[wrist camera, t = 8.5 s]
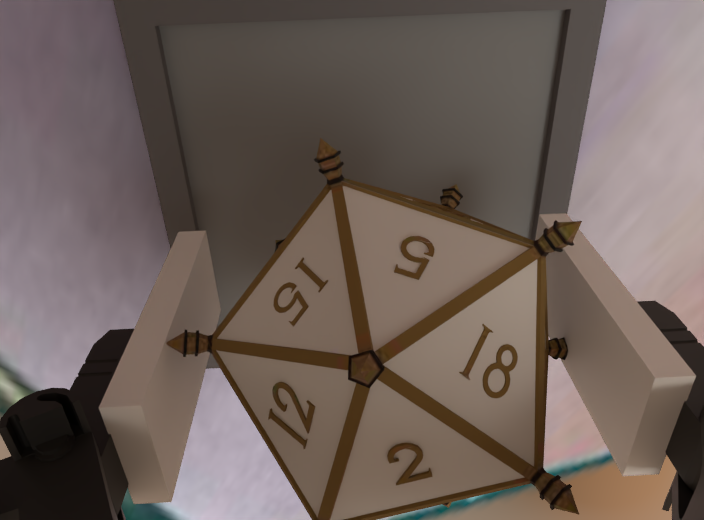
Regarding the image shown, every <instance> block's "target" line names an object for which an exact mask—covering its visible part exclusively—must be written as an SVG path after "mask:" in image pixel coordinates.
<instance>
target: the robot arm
mask: <svg viewBox="0 0 704 520" xmlns="http://www.w3.org/2000/svg"><path fill="white" fill-rule="evenodd" d="M555 220H557V221H558V222H573V221H572V220H571V219H570V218H569V216H568V215H567V214H566V213H561V214H540V215H539V219H538V226H537V232H536V239H535V240H538V239H539V238H540V237H541V236H542V235H543V231H544V229H545V228H547V229H549V228H550V227H552V226H553V225H554V221H555ZM573 243H574V245H573V246H570V245H567V246H566V247H564V248H562V249H563V251H562V252H557V251H555V252H552V253H549V254H548V255H547V256H546V276H547V309H548V336H549V337H550V339H553V338H558V339H560V338H563V337H564V338H565V341H566V344H567V347H568V353H567V357H566V359H565V360H562V359H561V360H562V362H563V364H564V366H565V368H566V370H567V372H568V373H569V375H570V377H571V379H572V381H573V383H574V385H575V387H576V389H577V390H578V392H579V394H580V396H581V398H582V400H583V402H584V404H585V406H586V408H587V409H588V411H589V413H590V415H591V417H592V419H593V421H594V423H595V425H596V426H597V428H598V430H599V432H600V434H601V436H602V438H603V440H604V442H605V444H606V445H607V447H608V449H609V451H610V453H611V455H612V457H613V459H614V461H615V462H616V464H617V466H618V468H619V470H620V472H621V474H622V476H634V475H652V474H659V473H660V470H661V467H662V465H663V462H664V459H665V457H666V454H667V456H668V457H669V459H670V461H671V462H672V464H673V465H674V467H675V468H676V470H677V472H676V475H675V477H674V480H673V482H672V485H671V487H670V490H669V492H668V495H667V497H666V499H665V502H664V506H663V510H666V511H669V508H670V506H671V504H672V520H704V347H703V346H702V344H701V343H698V342H697V339H696V338H695V336H694V335H693V334H692V333H691V332H690V331H687V327H686V326H685V325H684V324H683V323H682V321H681V320H680V319H679V318H678V317H677V316H676V315H675V313H673V312H672V311H670V310H668V309H667V308H665V307H664V306H662V305H661V304H659V303H657V302H656V301H640V302H637V301H636V300H635V299H634V297H633V296H632V295H631V294H630V292H629V291H628V290H627V289H626V287H625V286H624V285H623V284H622V282H621V281H620V280H619V279H618V277H617V276H616V275H615V274H614V272H613V271H612V270H611V269H610V267H609V266H608V265H607V264H606V262H605V261H604V260H603V259H602V257H601V256H600V255H599V254H598V252H597V251H596V250H595V249H594V247H593V246H592V245H591V244H590V242H589V241H588V240H587V239H586V237H585V236H584V235H583V234H582V232H581V231H580V230H579V229H578V231H577V233H576V235H575V238H574V240H573ZM220 311H221V308H220V303H219V297H218V292H217V287H216V281H215V276H214V271H213V265H212V260H211V255H210V249H209V244H208V239H207V234H206V231H185V232H178V234H177V236H176V238H175V241H174V243H173V245H172V247H171V249H170V252H169V254H168V256H167V258H166V260H165V263H164V265H163V267H162V269H161V271H160V274H159V276H158V278H157V280H156V282H155V285H154V287H153V289H152V291H151V293H150V296H149V298H148V300H147V302H146V304H145V307H144V309H143V311H142V313H141V315H140V318H139V320H138V322H137V324H136V326H135V329H119V330H109V331H108V332H107V333H106V334H105V335H104V336H103V337H102V338H101V339H99V340H98V341H97V342H96V343H95V344H94V345H93V347H92V349H91V351H90V353H89V355H88V356H87V358H86V360H85V364H83V366H82V368H81V370H80V372H79V373H78V375H79V376H78V377H76V379H75V381H74V383H73V385H72V387H71V388H70V390H68V389H65V388H50V389H45V390H41V391H37V392H35V393H32V394H30V395H28V396H26V397H24V398H22V399H20V400H19V401H18V402H16V403H15V404H14V405H12V406H11V407H10V408H9V409H8V410H7V411H6V413H5V414H4V415H3V417H2V418H1V420H0V434H1V436H2V438H3V440H4V442H5V444H6V446H7V448H8V450H9V452H10V454H11V457H8V458H5V459H3V460H0V520H126V519H125V516H124V513H123V511H122V508H121V505H122V502H123V499H124V496H125V493H126V490H127V487H128V489H129V492H130V495H131V497H132V500H133V503H134V504H142V503H159V502H171V501H172V497H173V493H174V490H175V486H176V482H177V478H178V474H179V470H180V466H181V462H182V459H183V455H184V451H185V447H186V443H187V439H188V435H189V431H190V428H191V424H192V420H193V416H194V412H195V408H196V404H197V401H198V397H199V393H200V389H201V385H202V381H203V377H204V373H205V370H206V366H207V362H208V358H209V354H210V352H204V353H200V354H198V356H195V354H190V355H186V357H183V354H181V353H180V352H178V351H176V350H175V349H173V348H171V347H170V346H168V345H167V344H166V343H167V342H168V341H170V340H171V339H173V338H175V337H177V336H178V335H180V334H182V333H184V332H185V329H186V330H187V332H194V333H196V330H199V333H201V334H204V335H207V336H209V335H212V334H213V333H214V332H215V330H216V327H217V323H218V319H219V315H220Z"/></svg>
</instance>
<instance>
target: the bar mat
mask: <svg viewBox="0 0 704 520" xmlns="http://www.w3.org/2000/svg"><path fill="white" fill-rule="evenodd" d="M606 1H607V0H114V5H115V9H116V13H117V18H118V22H119V26H120V31H121V35H122V39H123V44H124V48H125V52H126V57H127V61H128V65H129V70H130V74H131V78H132V83H133V87H134V91H135V96H136V100H137V104H138V109H139V113H140V118H141V122H142V126H143V131H144V135H145V139H146V144H147V148H148V152H149V157H150V161H151V165H152V170H153V174H154V178H155V183H156V187H157V191H158V196H159V200H160V204H161V209H162V213H163V217H164V222H165V226H166V230H167V235H168V239H169V244H170V248H171V247H172V245H173V243H174V241H175V238H176V236H177V234H178V232H185V231H206V234H207V239H208V244H209V249H210V255H211V260H212V265H213V271H214V276H215V281H216V287H217V292H218V297H219V303H220V308H221V311H220V315H219V319H218V323H217V327H216V329H217V328H218V326H219V325H220V324H221V322H222V321H223V320H224V318H225V317H226V316H227V315H228V313H229V312H230V311H231V309H232V308H233V307H234V305H235V304H236V303H237V301H238V300H239V299H240V297H241V296H242V295H243V294H244V292H245V291H246V290H247V288H248V287H249V286H250V284H251V283H252V282H253V280H254V279H255V278H256V276H257V275H258V274H259V272H260V271H261V270H262V269H263V267H264V266H265V265H266V263H267V262H268V261H269V259H270V258H271V257H272V255H273V254H274V253H275V248H276V244H275V240H283V239H285V238H286V237H287V236H288V234H289V233H290V232H291V230H292V229H293V228H294V226H295V225H296V224H297V223H298V221H299V220H300V219H301V217H302V216H303V215H304V213H305V212H306V211H307V209H308V208H309V207H310V205H311V204H312V203H313V202H314V200H315V199H316V198H317V196H318V195H319V194H320V192H321V191H322V190H323V188H324V187H325V186H326V184H327V179H326V177H325V176H324V174H322V173H320V172H319V169H320V167H319V164H318V163H317V162H315V161H314V159H315V158H316V157H317V152H318V147H319V143H320V138H321V139H323V140H324V141H325V142H327V143H328V144H329V145H330V146H332V147H333V148H334V149H335V150H337V151H341V153H340V154H339V157H340V161H341V162H343V163H344V165H343V166H342V175H343V177H344V178H346V179H350V180H353V181H357V182H361V183H364V184H368V185H371V186H375V187H379V188H382V189H386V190H390V191H393V192H397V193H400V194H404V195H408V196H411V197H415V198H418V199H422V200H426V201H429V202H433V203H436V204H440V205H441V200H440V196H443V192H442V190H443V189H448V188H450V187H452V186H454V185H456V184H457V186H458V189H459V191H460V193H461V194H462V195H463V198H462V199H460V200H459V202H460V204H459V205H458V206H457V207H456V208H455V210H457V211H460V212H463V213H465V214H468V215H470V216H473V217H475V218H478V219H480V220H483V221H485V222H488V223H490V224H493V225H495V226H498V227H500V228H503V229H505V230H508V231H510V232H513V233H516V234H518V235H521V236H523V237H526V238H528V239H531V240H533V241H535V239H536V232H537V226H538V219H539V215H540V214H561V213H566V214H567V211H568V206H569V200H570V195H571V190H572V184H573V179H574V174H575V168H576V163H577V157H578V152H579V147H580V141H581V136H582V130H583V125H584V120H585V114H586V109H587V103H588V98H589V93H590V87H591V82H592V76H593V71H594V66H595V60H596V55H597V50H598V44H599V39H600V33H601V28H602V23H603V17H604V12H605V6H606ZM207 368H220V367H219V365H218V363H217V362H216V360H215V359H214V357H213V355H212V354H211V353H210V354H209V358H208V362H207V366H206V369H207Z"/></svg>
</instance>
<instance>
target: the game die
mask: <svg viewBox="0 0 704 520" xmlns="http://www.w3.org/2000/svg"><path fill="white" fill-rule="evenodd" d="M340 153H341V151H337V150H335V149H334V148H333V147H332V146H330V145H329V144H328V143H327V142H325V141H324V140H323V139H321V138H320V143H319V147H318V152H317V157H316V158H315V159H314V161H315V162H317V163H318V164H319V167H320V169H319V172H320V173H322V174H324V176H325V177H326V179H327V184H326V186H325V187H324V188H323V190H322V191H321V192H320V194H319V195H318V196H317V198H316V199H315V200H314V202H313V203H312V204H311V205H310V207H309V208H308V209H307V211H306V212H305V213H304V215H303V216H302V217H301V219H300V220H299V221H298V223H297V224H296V225H295V226H294V228H293V229H292V230H291V232H290V233H289V234H288V236H287V237H286V238H285V239H283V240H275V244H276V248H275V253H274V254H273V255H272V257H271V258H270V259H269V261H268V262H267V263H266V265H265V266H264V267H263V269H262V270H261V271H260V272H259V274H258V275H257V276H256V278H255V279H254V280H253V282H252V283H251V284H250V286H249V287H248V288H247V290H246V291H245V292H244V294H243V295H242V296H241V297H240V299H239V300H238V301H237V303H236V304H235V305H234V307H233V308H232V309H231V311H230V312H229V313H228V315H227V316H226V317H225V318H224V320H223V321H222V322H221V324H220V325H219V326H218V328H217V329H216V330H215V332H214V333H213V334H212V335H209V336H207V335H204V334H201V333H199V330H196V333H194V332H187V330H186V329H185V332H184V333H182V334H180V335H178V336H177V337H175V338H173V339H171V340H170V341H168V342H167V343H166V344H167V345H168V346H170V347H171V348H173V349H175V350H176V351H178V352H180V353H181V354H183V357H186V355H190V354H195V356H198V354H200V353H204V352H210V353H211V354H212V355H213V357H214V359H215V360H216V362H217V363H218V365H219V367H220V368H221V370H222V372H223V373H224V375H225V377H226V378H227V380H228V382H229V383H230V385H231V387H232V388H233V390H234V391H235V393H236V395H237V396H238V398H239V400H240V401H241V403H242V405H243V406H244V408H245V410H246V411H247V413H248V415H249V416H250V418H251V420H252V421H253V423H254V424H255V426H256V428H257V429H258V431H259V433H260V434H261V436H262V438H263V439H264V441H265V443H266V444H267V446H268V448H269V449H270V451H271V452H272V454H273V456H274V457H275V459H276V461H277V462H278V464H279V466H280V467H281V469H282V471H283V472H284V474H285V476H286V477H287V479H288V481H289V482H290V484H291V485H292V487H293V489H294V490H295V492H296V494H297V495H298V497H299V499H300V500H301V502H302V504H303V505H304V507H305V509H306V510H307V512H308V514H309V515H310V517H311V518H312V520H376V519H380V518H385V517H389V516H393V515H398V514H402V513H406V512H410V511H415V510H419V509H423V508H427V507H432V506H436V505H440V504H443V505H445V506H447V507H448V508H449V506H450V504H451V502H453V501H457V500H462V499H466V498H470V497H474V496H479V495H483V494H487V493H492V492H496V491H500V490H504V489H509V488H513V487H517V486H521V485H526V484H530V483H532V484H533V485H534V486H536V488H537V489H538V491H539V492H540V498H541V499H542V500H543V499H545V500H546V501H547V502H548V503H549V504H550V508H551V509H552V510H553V509H554V508H556V509H560V510H564V511H568V512H572V513H576V514H579V513H578V510H577V507H576V504H575V501H574V498H573V495H572V493H571V490H570V488H571V487H572V486H571V485H570V484H569V485H566V484H564V483H563V482H562V481H561V480H559V479H560V478H561V477H560V476H559V475H557V476H556V477H555V476H553V475H551V474H549V473H547V472H546V471H545V470H544V468H543V460H544V438H545V417H546V396H547V375H548V355H550V356H551V357H552V358H554V359H558V358H561V359H562V360H565V359H566V357H567V353H568V347H567V344H566V341H565V338H564V337H563V338H560V339H558V338H553V339H551V340H548V309H547V276H546V256H547V255H548V254H549V253H552V252H555V251H557V252H562V251H563V249H562V248H564V247H566V246H567V245H570V246H573V245H574V243H573V240H574V238H575V235H576V233H577V231H578V229H579V226H580V224H581V222H582V221H577V222H558V221H557V220H555V221H554V225H553V226H552V227H550V228H549V229H547V228H545V229H544V231H543V235H542V236H541V237H540V238H539V239H538V240H535V241H533V240H531V239H528V238H526V237H523V236H521V235H518V234H516V233H513V232H510V231H508V230H505V229H503V228H500V227H498V226H495V225H493V224H490V223H488V222H485V221H483V220H480V219H478V218H475V217H473V216H470V215H468V214H465V213H463V212H460V211H457V210H455V208H456V207H457V206H458V205H459V204H460V202H459V200H460V199H462V198H463V195H462V194H461V193H460V191H459V189H458V186H457V184H456V185H454V186H452V187H450V188H448V189H443V190H442V192H443V196H440V200H441V205H440V204H436V203H433V202H429V201H426V200H422V199H418V198H415V197H411V196H408V195H404V194H400V193H397V192H393V191H390V190H386V189H382V188H379V187H375V186H371V185H368V184H364V183H361V182H357V181H353V180H350V179H346V178H344V177H343V175H342V166H343V165H344V163H343V162H341V161H340V157H339V154H340Z"/></svg>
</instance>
